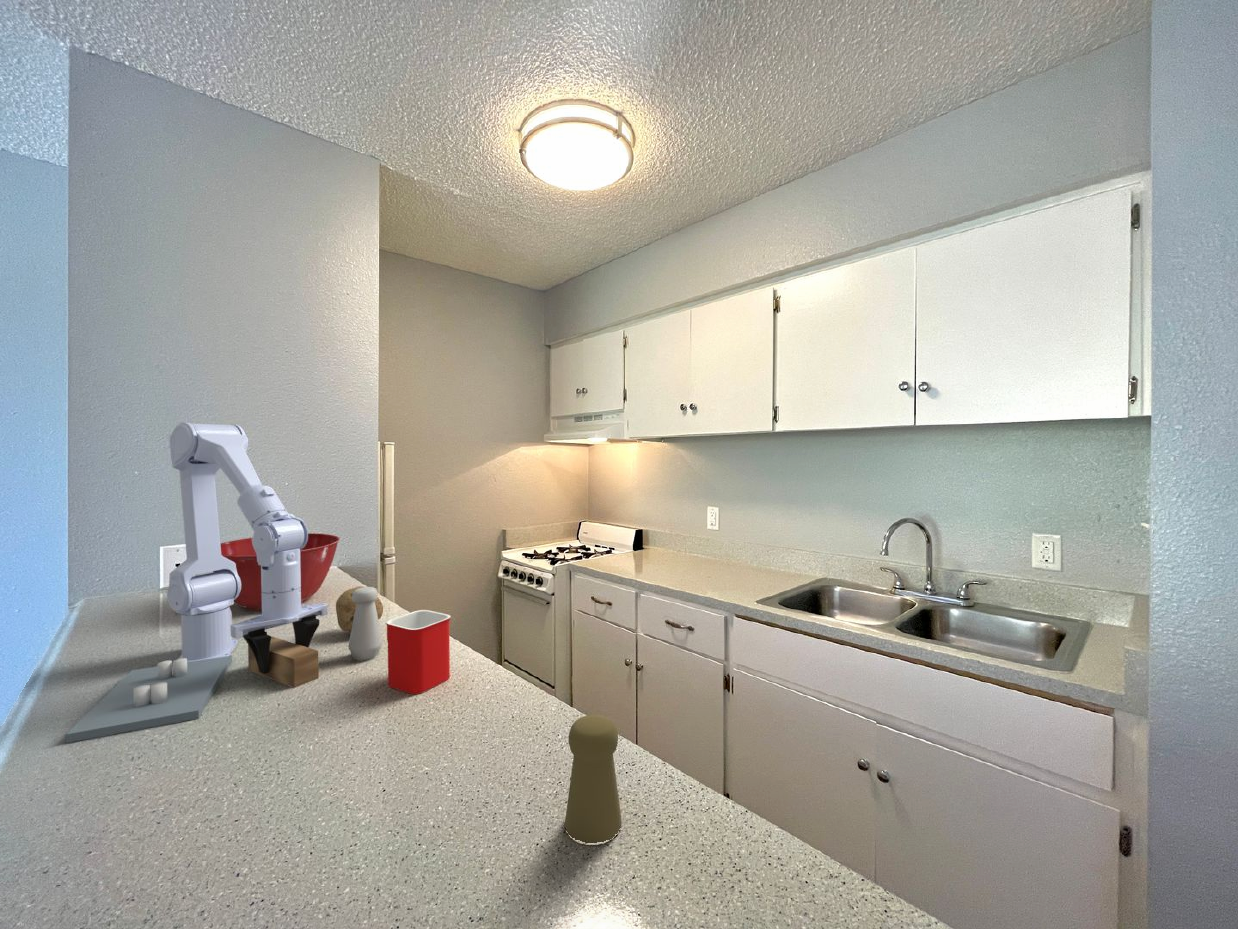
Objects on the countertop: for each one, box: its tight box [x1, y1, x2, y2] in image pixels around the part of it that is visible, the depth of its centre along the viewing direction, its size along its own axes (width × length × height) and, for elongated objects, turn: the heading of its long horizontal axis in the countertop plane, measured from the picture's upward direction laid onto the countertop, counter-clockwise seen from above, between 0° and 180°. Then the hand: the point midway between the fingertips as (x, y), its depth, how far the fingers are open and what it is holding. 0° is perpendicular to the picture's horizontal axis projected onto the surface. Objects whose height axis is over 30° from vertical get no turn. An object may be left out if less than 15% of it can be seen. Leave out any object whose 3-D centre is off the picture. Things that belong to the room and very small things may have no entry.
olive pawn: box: [564, 714, 623, 843], centre depth 54 cm, size 6×6×11 cm
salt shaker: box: [347, 586, 383, 662], centre depth 97 cm, size 6×6×13 cm
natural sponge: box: [335, 586, 384, 635], centre depth 109 cm, size 9×9×10 cm
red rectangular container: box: [385, 609, 451, 695], centre depth 88 cm, size 12×8×11 cm
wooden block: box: [247, 636, 320, 689], centre depth 89 cm, size 14×4×5 cm, turn 62°
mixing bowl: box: [212, 532, 341, 611], centre depth 131 cm, size 28×28×15 cm
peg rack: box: [65, 655, 233, 744], centre depth 81 cm, size 22×14×4 cm, turn 27°
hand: (282, 666), depth 89 cm, fingers open, 5 cm apart
